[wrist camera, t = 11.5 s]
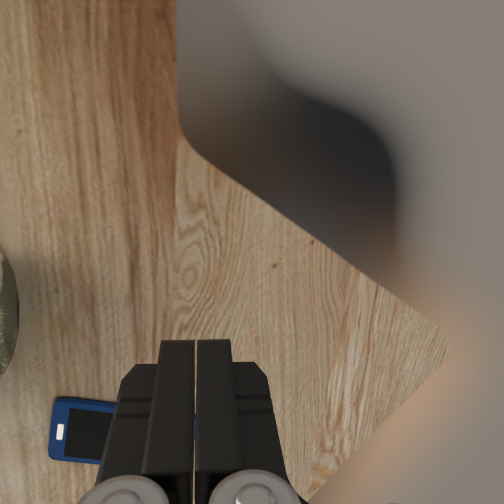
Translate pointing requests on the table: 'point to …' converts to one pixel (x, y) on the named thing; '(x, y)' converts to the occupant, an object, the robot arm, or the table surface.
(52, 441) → the cell phone
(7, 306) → the coffee can
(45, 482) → the table surface
